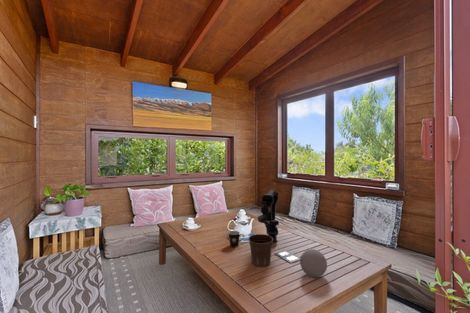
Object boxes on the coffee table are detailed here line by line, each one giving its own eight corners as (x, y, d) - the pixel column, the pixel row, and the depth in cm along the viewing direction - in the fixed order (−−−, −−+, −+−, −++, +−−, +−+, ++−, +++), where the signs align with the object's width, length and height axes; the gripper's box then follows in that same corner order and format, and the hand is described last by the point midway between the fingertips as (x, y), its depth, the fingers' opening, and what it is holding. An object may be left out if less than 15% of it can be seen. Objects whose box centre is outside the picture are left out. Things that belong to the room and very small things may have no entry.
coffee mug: (226, 246, 179) (226, 233, 179) (232, 242, 187) (231, 230, 187) (240, 249, 174) (239, 235, 174) (245, 244, 181) (244, 232, 181)
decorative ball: (295, 275, 135) (295, 250, 135) (307, 266, 145) (307, 243, 145) (320, 286, 124) (319, 258, 124) (331, 275, 135) (331, 250, 135)
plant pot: (272, 270, 142) (271, 244, 142) (246, 267, 146) (246, 242, 146) (274, 258, 158) (274, 235, 157) (251, 256, 162) (251, 233, 161)
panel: (285, 251, 169) (285, 250, 169) (301, 259, 155) (301, 258, 155) (274, 254, 164) (274, 253, 164) (290, 263, 150) (290, 262, 150)
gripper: (252, 210, 177) (252, 230, 177) (267, 215, 161) (267, 237, 161) (263, 208, 183) (264, 227, 183) (279, 213, 167) (279, 234, 167)
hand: (268, 231), depth 173 cm, fingers closed
